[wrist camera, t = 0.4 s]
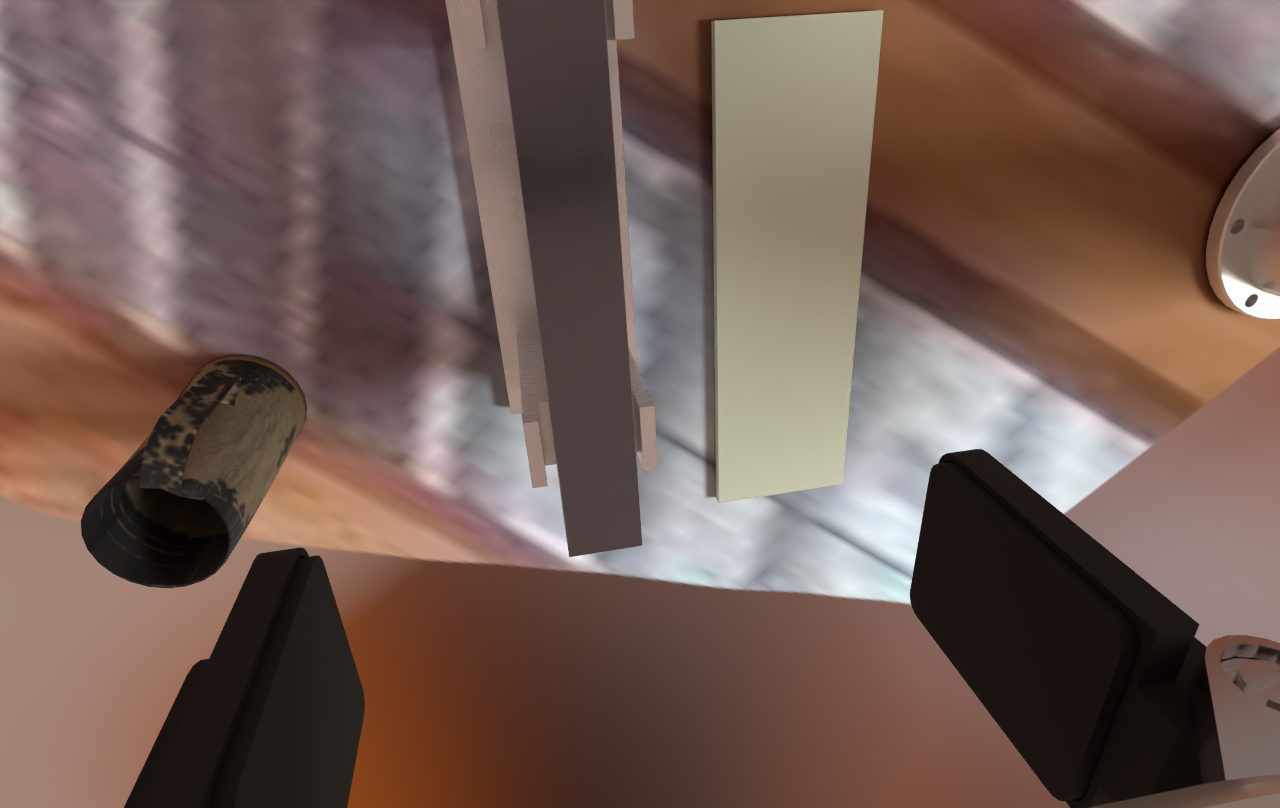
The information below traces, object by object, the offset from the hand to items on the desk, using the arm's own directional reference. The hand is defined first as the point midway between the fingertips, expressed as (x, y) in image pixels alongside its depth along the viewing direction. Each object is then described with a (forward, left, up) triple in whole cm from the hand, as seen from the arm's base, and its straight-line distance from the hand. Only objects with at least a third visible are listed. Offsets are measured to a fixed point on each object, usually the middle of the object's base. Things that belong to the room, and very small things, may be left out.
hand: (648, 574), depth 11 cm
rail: (-1, -1, -18) cm, 18 cm away
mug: (+15, +7, -27) cm, 32 cm away
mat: (-13, +5, -27) cm, 30 cm away
